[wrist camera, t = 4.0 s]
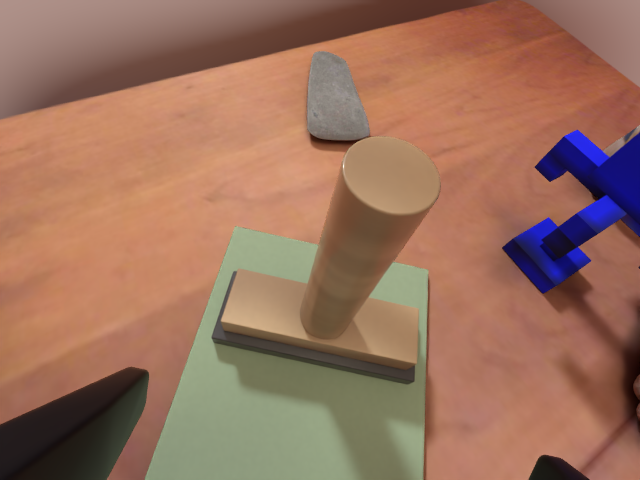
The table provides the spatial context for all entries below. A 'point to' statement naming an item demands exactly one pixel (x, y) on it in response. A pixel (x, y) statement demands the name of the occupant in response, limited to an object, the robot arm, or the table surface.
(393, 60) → the table surface
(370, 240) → the wiper
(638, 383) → the sculpture
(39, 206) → the table surface
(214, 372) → the mat
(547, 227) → the figurine
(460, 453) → the table surface
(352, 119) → the decorative stone
